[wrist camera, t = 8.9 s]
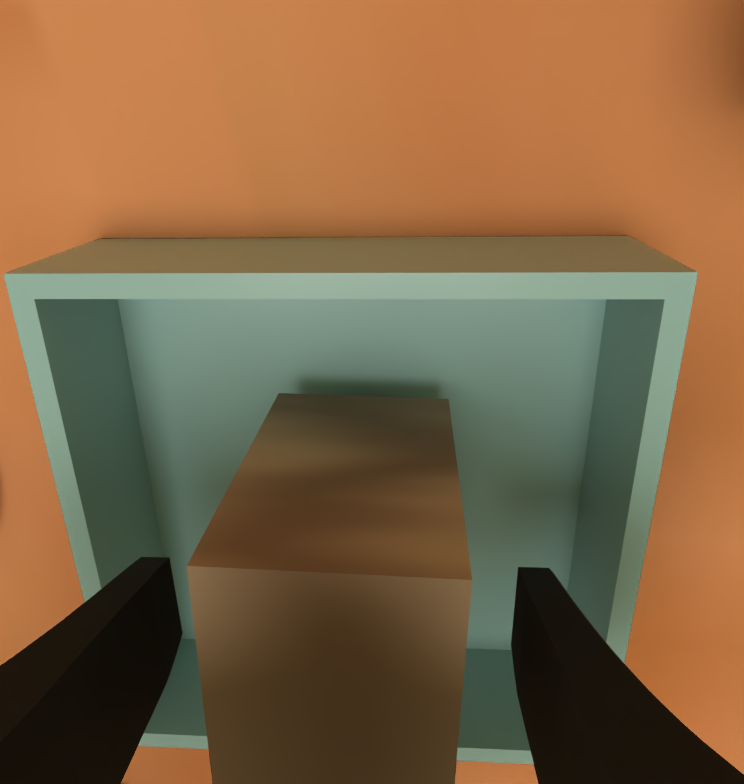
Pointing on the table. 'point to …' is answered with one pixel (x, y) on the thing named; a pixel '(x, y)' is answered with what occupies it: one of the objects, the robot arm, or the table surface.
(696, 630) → the table surface
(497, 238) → the teal bin
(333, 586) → the brown wooden block
